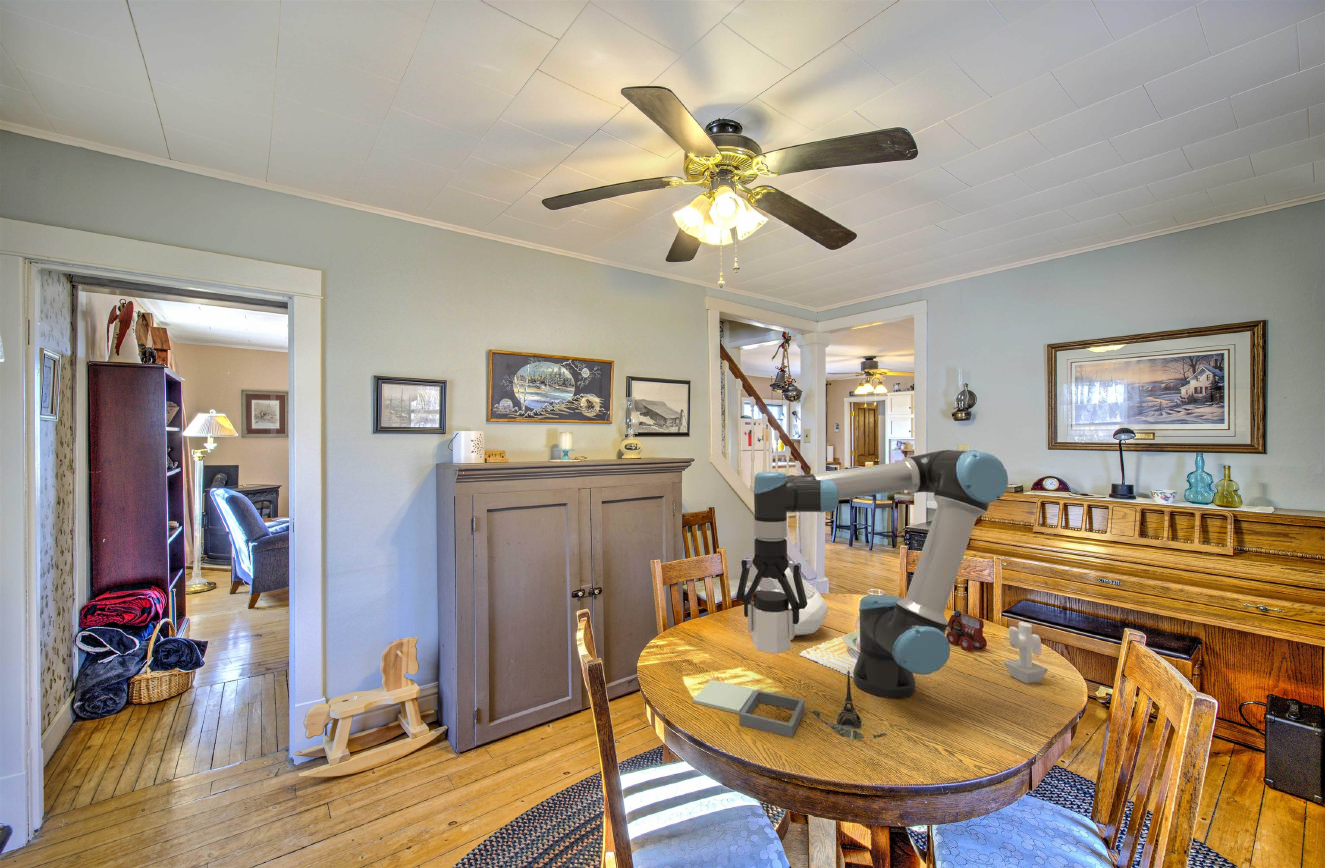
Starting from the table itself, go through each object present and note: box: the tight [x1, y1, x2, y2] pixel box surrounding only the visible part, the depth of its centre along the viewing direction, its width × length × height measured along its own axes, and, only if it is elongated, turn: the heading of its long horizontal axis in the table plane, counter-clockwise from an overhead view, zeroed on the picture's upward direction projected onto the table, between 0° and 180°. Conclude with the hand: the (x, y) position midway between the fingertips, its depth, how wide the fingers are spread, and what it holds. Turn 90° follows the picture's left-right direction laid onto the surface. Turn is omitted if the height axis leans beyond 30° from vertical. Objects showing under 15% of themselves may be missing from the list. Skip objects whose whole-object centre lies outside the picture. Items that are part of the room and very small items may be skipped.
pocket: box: [738, 689, 806, 739], centre depth 124 cm, size 12×13×2 cm
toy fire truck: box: [945, 610, 988, 652], centre depth 165 cm, size 7×12×10 cm, turn 17°
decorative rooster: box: [768, 561, 828, 636], centre depth 176 cm, size 25×16×25 cm
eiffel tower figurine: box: [809, 666, 888, 741], centre depth 122 cm, size 15×10×13 cm
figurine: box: [1003, 621, 1050, 684], centre depth 143 cm, size 7×9×15 cm
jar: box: [752, 590, 792, 655], centre depth 124 cm, size 9×8×12 cm
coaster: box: [692, 679, 755, 714], centre depth 134 cm, size 12×12×1 cm
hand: (771, 633), depth 124 cm, fingers closed on jar, 9 cm apart
